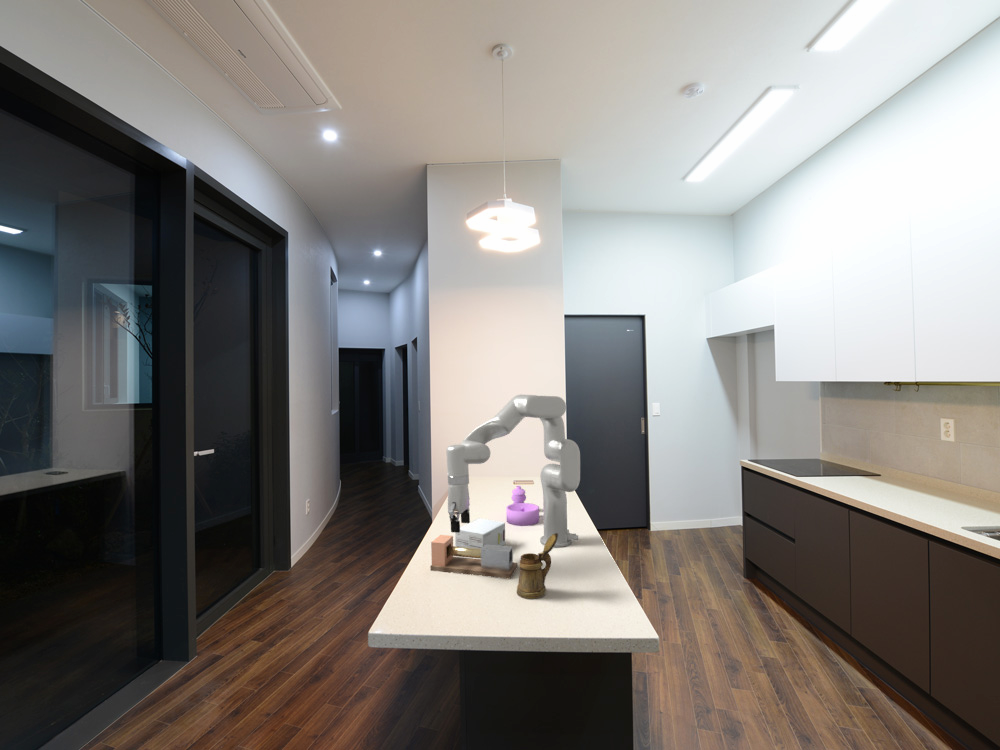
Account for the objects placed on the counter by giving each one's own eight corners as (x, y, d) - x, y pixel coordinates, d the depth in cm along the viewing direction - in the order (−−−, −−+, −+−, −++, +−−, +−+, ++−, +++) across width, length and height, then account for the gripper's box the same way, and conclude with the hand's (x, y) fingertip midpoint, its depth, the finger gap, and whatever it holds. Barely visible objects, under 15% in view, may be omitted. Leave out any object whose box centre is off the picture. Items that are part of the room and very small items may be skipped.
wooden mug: (562, 596, 142) (561, 537, 142) (519, 600, 140) (518, 540, 140) (555, 584, 151) (554, 528, 151) (514, 587, 149) (513, 531, 149)
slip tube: (497, 558, 164) (496, 548, 164) (494, 561, 161) (494, 551, 161) (443, 552, 170) (443, 543, 170) (439, 556, 166) (439, 546, 166)
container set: (541, 525, 212) (541, 496, 212) (508, 526, 210) (508, 497, 210) (533, 509, 236) (532, 483, 237) (503, 511, 235) (502, 485, 235)
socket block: (453, 557, 171) (452, 535, 171) (444, 566, 163) (444, 543, 163) (440, 556, 172) (440, 534, 172) (431, 564, 165) (431, 542, 165)
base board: (517, 567, 165) (517, 562, 165) (510, 578, 156) (510, 574, 156) (441, 559, 173) (441, 555, 173) (430, 570, 164) (430, 565, 164)
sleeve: (512, 565, 163) (512, 546, 163) (509, 571, 158) (508, 551, 158) (485, 562, 166) (485, 544, 166) (481, 568, 161) (480, 549, 161)
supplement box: (483, 559, 173) (483, 534, 173) (454, 553, 180) (454, 529, 180) (506, 545, 188) (505, 521, 188) (478, 539, 194) (478, 517, 194)
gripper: (457, 474, 176) (459, 519, 176) (438, 485, 159) (441, 535, 159) (476, 474, 173) (478, 520, 174) (459, 486, 157) (461, 536, 157)
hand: (460, 527), depth 166 cm, fingers open, 9 cm apart
